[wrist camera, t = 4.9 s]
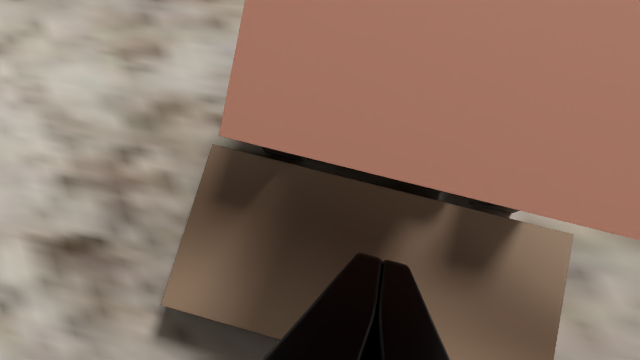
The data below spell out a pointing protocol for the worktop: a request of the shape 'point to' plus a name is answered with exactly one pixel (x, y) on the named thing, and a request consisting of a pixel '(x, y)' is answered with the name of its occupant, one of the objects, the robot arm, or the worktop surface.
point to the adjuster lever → (454, 97)
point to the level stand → (369, 238)
